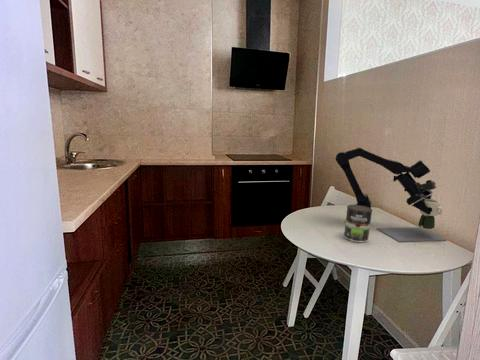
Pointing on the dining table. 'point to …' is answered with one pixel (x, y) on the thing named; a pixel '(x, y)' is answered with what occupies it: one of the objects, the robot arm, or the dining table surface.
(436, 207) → the character mug
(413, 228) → the placemat
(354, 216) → the coffee can
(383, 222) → the dining table surface
